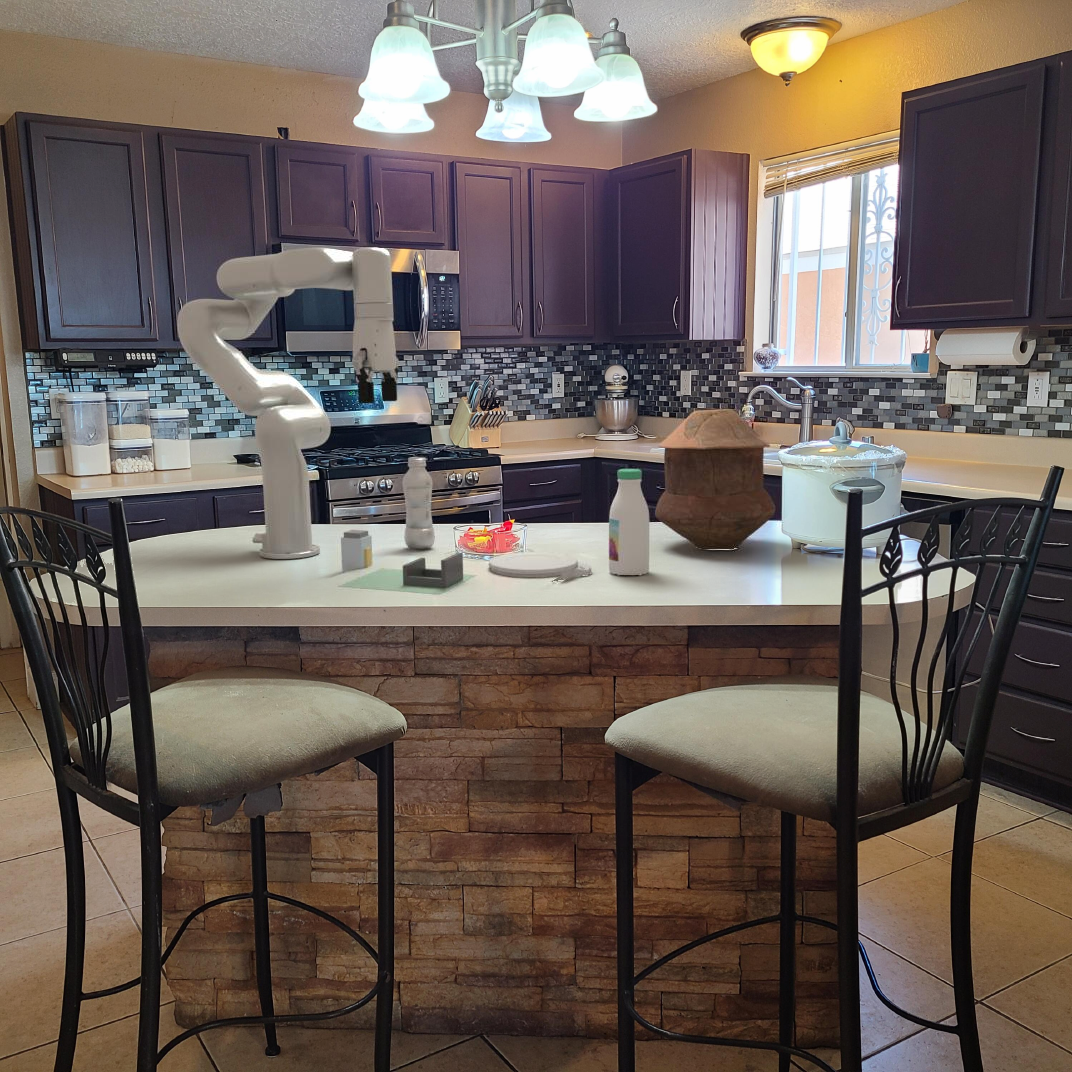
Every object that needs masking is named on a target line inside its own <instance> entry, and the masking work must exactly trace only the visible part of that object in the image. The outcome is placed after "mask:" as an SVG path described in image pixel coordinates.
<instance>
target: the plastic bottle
mask: <svg viewBox="0 0 1072 1072" xmlns="http://www.w3.org/2000/svg"><path fill="white" fill-rule="evenodd" d="M407 462H408V463H407V467H409V469H408V470H407V472H405V475H404V476H403V479H402V483H401V484H402V487H403V488H402V490H403V497H404V502H405V511H406V513H405V514H406V517H405V529H404V537H403V538H404V544H405V545H406V547H407V548H411V549H415V550H424V549H428V548H429V549H430V548H431V547H433V546H434V544H435V539H436V536H435V528H434V527H433V526H434V525H433V518H432V494H433V493H432V492H433V483H434V482H433V478H432V476H431V475H430V473H429V472H428V471H427V469H426V467H427V463H426V462H427V461H426V457H423V456H421V457H420V456H415V457H414V456H413V457H412V456H411V457H408V461H407Z"/></svg>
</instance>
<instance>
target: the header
mask: <svg viewBox="0 0 1072 1072" xmlns="http://www.w3.org/2000/svg"><path fill="white" fill-rule="evenodd" d="M463 557H464V556H463V552H456V553H454V554H453V555H450V556H448V557H446V558H444V559H441V560H440V568H441V569H437V568H427V567H426V558H425V557H420V558H417V559H415V560H413V561H410V562H408V563H405V564H403V565H402V570H403V585H407V586H420V587H433V588H448V587H450V586H452V585H454V584H456V583H458V582H460V581H462V580H463V574H464V562H463V561H464V558H463Z"/></svg>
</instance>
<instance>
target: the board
mask: <svg viewBox="0 0 1072 1072" xmlns="http://www.w3.org/2000/svg"><path fill="white" fill-rule="evenodd" d="M476 576H477V574H469V573H468V574H467V573H466V574H465V573H463V580H462V581H460V582H458V583H456V584H454V585H452V586H450V587H448V588H433V587H420V586H407V585H403V569H396V568H379V569H377V570H375V571H372V572H370V573H367V574H364V575H362V576H359V577H357V578H355V579H352V580H350V581H348V582H347V581H346V582H345V583H343V584H340V585H338V586H337V587H341V588H352V589H353V588H355V589H366V590H376V591H377V590H378V591H388V592H390V591H393V592H401V593H404V592H405V593H415V594H429V595H441V594H443V593H445V592H447V591H449V590H451V589H453V588H455V587H457V586H459V585H461V584H462V583H465V582H467V581H469V580H470V579H472V578H474V577H476Z"/></svg>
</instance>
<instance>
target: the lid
mask: <svg viewBox="0 0 1072 1072" xmlns="http://www.w3.org/2000/svg"><path fill="white" fill-rule="evenodd" d="M488 567H489V568H490V571H492V572H493V573H495V574H498V575H500V576H506V577H514V578H515V577H516V578H545V577H546V578H548V577H555V579H553V580H552V581H551V582H553V581H558V580H564V579H568V578H571V577H576V578H579V577H578V576H583V575H589V574H590V573H591V574H592V566H591V565H590V564H588V563H585V562H580V561H578V559H577V557H574V556H572V555H570V554H565V553H559V552H549V551H525V552H523V551H521V552H512V553H506V554H505V553H504V554H500V555H497V556H494V557H492V558H490V559H489V561H488ZM591 574H590V575H591ZM590 575H589V576H590ZM556 577H557V578H556ZM571 579H572V578H571ZM568 580H569V579H568ZM564 581H565V580H564ZM553 583H554V582H553Z"/></svg>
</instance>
